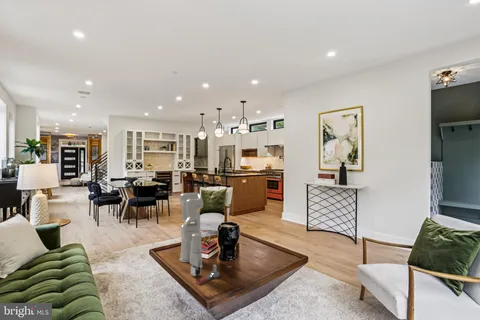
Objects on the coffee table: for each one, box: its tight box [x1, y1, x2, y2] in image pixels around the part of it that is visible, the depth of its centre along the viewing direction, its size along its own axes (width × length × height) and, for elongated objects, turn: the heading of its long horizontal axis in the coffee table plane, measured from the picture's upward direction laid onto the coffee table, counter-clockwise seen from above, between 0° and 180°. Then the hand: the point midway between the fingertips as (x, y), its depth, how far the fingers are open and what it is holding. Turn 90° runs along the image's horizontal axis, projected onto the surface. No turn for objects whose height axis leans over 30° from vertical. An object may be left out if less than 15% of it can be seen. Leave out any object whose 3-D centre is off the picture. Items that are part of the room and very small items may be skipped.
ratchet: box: [195, 264, 220, 286], centre depth 186 cm, size 7×20×8 cm, turn 137°
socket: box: [190, 265, 202, 277], centre depth 190 cm, size 5×5×6 cm
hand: (195, 272), depth 190 cm, fingers closed on socket, 5 cm apart
